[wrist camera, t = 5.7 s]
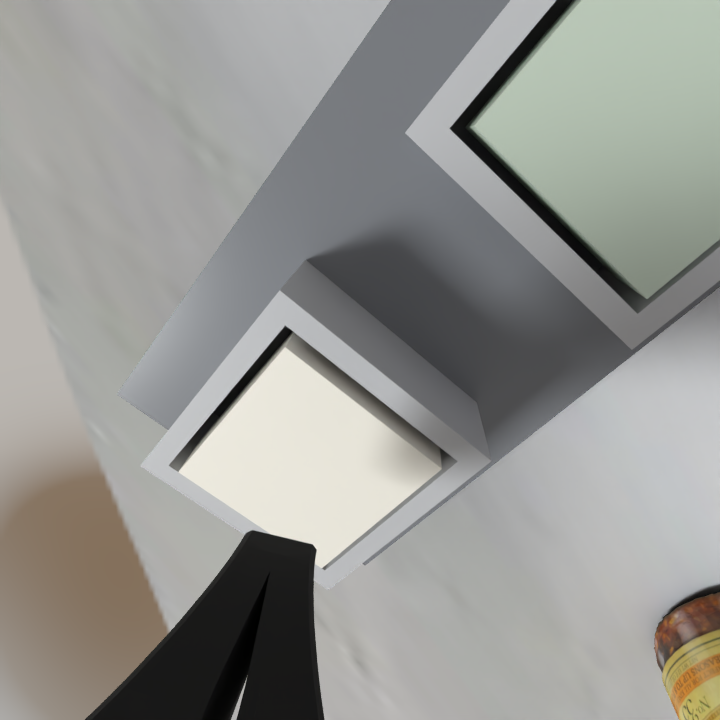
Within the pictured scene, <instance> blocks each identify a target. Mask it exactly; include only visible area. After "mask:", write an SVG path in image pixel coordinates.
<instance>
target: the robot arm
mask: <svg viewBox="0 0 720 720" xmlns="http://www.w3.org/2000/svg"><path fill="white" fill-rule="evenodd" d="M316 552H317V549H316V548H315V547H314V546H313V544H309V543H305V542H301V541H297V540H292V539H288V538H284V537H280V536H276V535H271V534H267V533H263V532H259V531H255V530H251V531H249V532H247V533H246V534H245V536H244V537H243V539H242V541H241V542H240V544H239V545H238V547H237V548H236V550H235V551H234V553H233V554H232V556H231V557H230V559H229V560H228V561H227V563H226V564H225V565H224V567H223V568H222V569H221V571H220V572H219V573H218V575H217V576H216V577H215V579H214V580H213V581H212V582H211V584H210V585H209V586H208V588H207V589H206V590H205V591H204V593H203V594H202V595H201V596H200V597H199V598H198V600H197V601H196V602H195V603H194V604H193V606H192V607H191V608H190V609H189V610H188V612H187V613H186V614H185V615H184V616H183V618H182V619H181V620H180V621H179V622H178V623H177V625H176V626H175V627H174V628H173V629H172V630H171V631H170V633H169V634H168V635H167V636H166V637H165V638H164V639H163V640H162V641H161V642H160V643H159V644H158V646H157V647H156V648H155V649H154V650H153V651H152V652H151V653H150V654H149V655H148V656H147V657H146V658H145V660H144V661H143V662H142V663H141V664H140V665H139V666H138V667H137V668H136V669H135V670H134V671H133V672H132V673H131V675H130V676H129V677H128V678H127V679H126V680H125V681H124V682H123V683H122V684H121V685H120V686H119V687H118V688H117V689H116V690H115V691H114V692H113V693H112V694H111V695H110V696H109V697H108V698H107V699H106V700H105V701H104V702H103V703H102V704H101V705H100V706H99V707H98V708H97V709H95V711H94V712H93V713H91V714H90V715H89V716H88V717H87V718H86V719H85V720H231V717H232V715H233V712H234V710H235V707H236V704H237V702H238V699H239V696H240V694H241V691H242V688H243V686H244V683H245V681H246V678H247V681H246V686H245V690H244V693H243V697H242V701H241V705H240V709H239V713H238V717H237V720H324V714H323V707H322V699H321V692H320V683H319V675H318V665H317V653H316V641H315V628H314V598H313V588H314V567H315V558H316ZM247 675H248V676H247Z"/></svg>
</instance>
